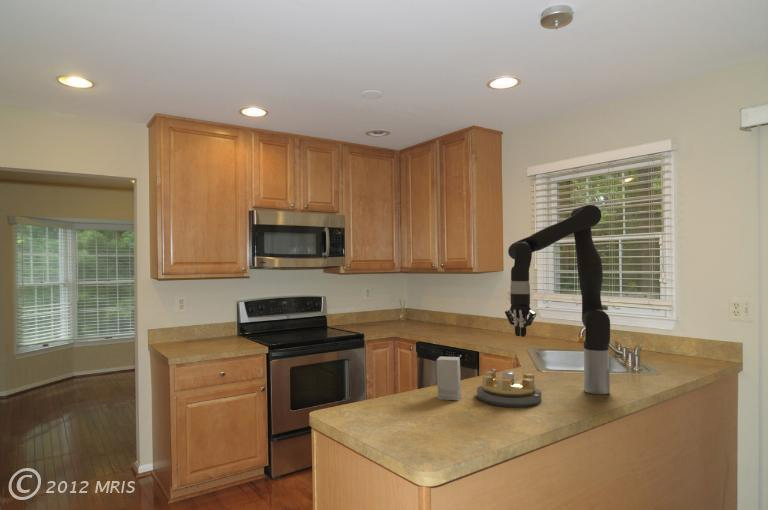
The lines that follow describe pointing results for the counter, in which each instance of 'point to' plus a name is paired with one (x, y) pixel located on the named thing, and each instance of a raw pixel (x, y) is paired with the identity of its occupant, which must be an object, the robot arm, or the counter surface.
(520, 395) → the brass lugged disc
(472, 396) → the counter surface
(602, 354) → the robot arm
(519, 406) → the housing
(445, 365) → the skincare box
